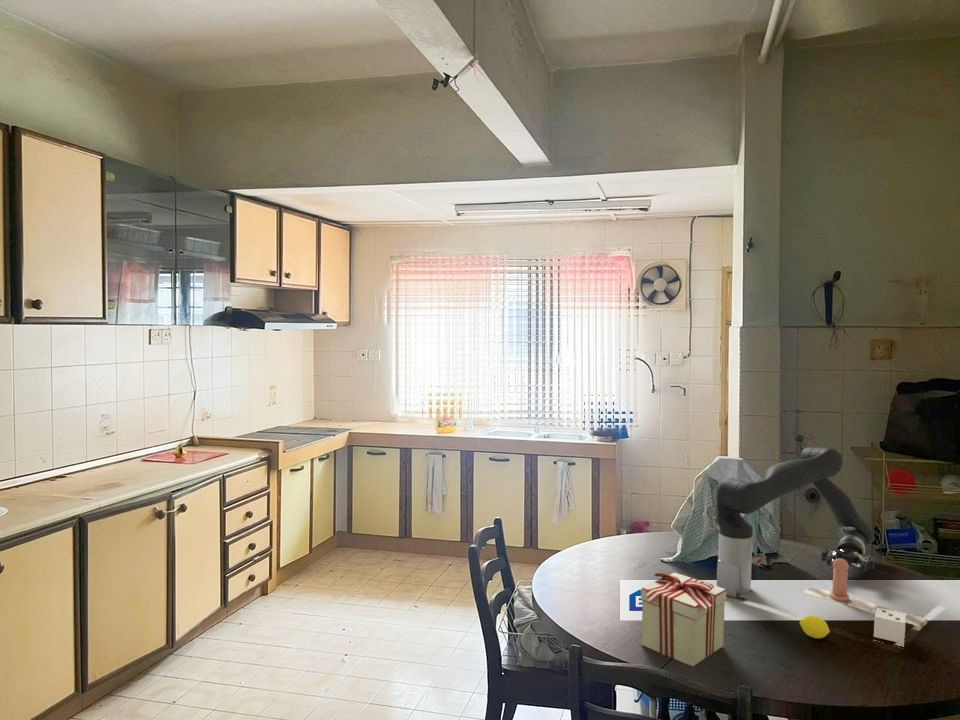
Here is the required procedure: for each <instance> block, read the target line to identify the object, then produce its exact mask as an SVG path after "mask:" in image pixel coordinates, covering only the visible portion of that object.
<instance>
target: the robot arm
mask: <svg viewBox="0 0 960 720" xmlns="http://www.w3.org/2000/svg"><path fill="white" fill-rule="evenodd" d="M843 462H844V460H843V457H842V455H841V453H840V452H839V451H838V450H837V449H835V448H831V447H816V446H815V447H814V446H809V447H805V448H804V449H803V450H801V454H800V457H799V459H791V460H784V461H782V462H779V463H777V464H774V465H772V466H770V467H768V468H767V469H766V470H765V472H764V474H763V476H762V479H761V480H759V481H755V482H751V481H746V480H742V479H738V478H733V477H725V478H723V479H722V480H721V481H720V483H719V485H718V487H717V492H716V521H717V525H718V556H717V558H718V559H717V565H716V586H718V587H721V588H724V589H726V596H727V595H728V596H727V597H731V598H734V599H737V598H740V596H742V595H744V594H748V593H750V592H751V590H752V589H751V585H752V562H753V561H752V560H753V533H754V532H753V531H754V530H753V529H754V528H753V526H752V524H751V523H749V522H748V521H747V520H746V519H744V517H743V516H742V514H744V515H750V514H752V513H756V512H757V511H758V510H760V509H761V508H763V507H765V506H766V505H767V504H769V503H771V502H772V501H775V500H777V499H779V498H781V497H783V496H786V495H788V494H790V493H793V492H795V491H797V490H799V489H801V488H803V487H806V486H809V485H810V484H812V485H813V486H814V487H815V488H816V490H817V491H818V493H819V494H820V495H821V496H822V498H823V499H824V501H825V502H826V504H827V506H828V508H829V510H830V511H831V513H832V515H833V518H834V520H835V521H836V523H837V524H838V525H839V526H841V527H840V528H839V529H838V532H837V536H838V540H839V542H838V545H837V548H836V549H835V550H834V551H833V550H830V548H829V547H824V548H823V550H822V551H821V552H820V553H821V556H820V557H821V558H820V560H821V561H822V562H825V564H826V565H827V566H828V567H832V566H833V562H834V561H835V560H836V559H838V558H842V559H844V560H846V561H847V562H848V565H849V567H854V566H855V567H857V568H859V571H860V572H861V573H864V572H866V571H867V569H868V568H869V570H875V555H873V554H871V555H868V556H865V554H866V546H868V545H871V544H872V543H874V541H875V533H874V530H873V529H872V528H871V526H870V525H869V524H868V523H867V522H866V521H865V520H864V519H863V518H862V516H861V515H859V514H858V511H857V509H856V507H855V506H854V503H853V501H852V500H851V497H849V496H848V495H847V494H846V493H845V492H844V491H843V490H842V489H841V488H839V486H837V485H836V484H835V483H834V482H833V481H832V480H831V479H830V478H832V477H834V476H836V475H838V474H839V472H840V471H841V469H842V468H843V464H844V463H843Z"/></svg>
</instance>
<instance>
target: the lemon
mask: <svg viewBox="0 0 960 720" xmlns="http://www.w3.org/2000/svg"><path fill="white" fill-rule="evenodd" d="M799 626H800V627H801V629H802V631H803V632H804V633H805V634H806V635H807V636H808V637H811V638H812V639H816V640H817V639H823V638H825V637H826V636H827V635H828V634H829V633H830V632H831V631H830V628H829V626H828V624H827V622H826V621H825V620H824V619H823V618H821V617H820V616H816V615H808V616H805V617H804V618H803V619H802V620H800V621H799Z"/></svg>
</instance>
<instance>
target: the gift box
mask: <svg viewBox="0 0 960 720" xmlns="http://www.w3.org/2000/svg"><path fill="white" fill-rule="evenodd" d="M654 576H655V577H661V578H659V579H657V580H656V581H653V582H652V583H650V584H648V585H646V586H644V587H642V588H641V589H640V591H641V592H640V600H641V601H642V609H641V610H642V615H641V621H642V622H641V646H642V647H645V648H647V649H650V650H652V651H654V652H656V653H659V654H660V655H663V656H666V657H668V658H671V659H673V660H675V661H677V662H680V663H682V664H685V665H687V666H689V667H695V666H696V665H698V664H699V663H701V662H702V661H704V660H705V659H707V658H709V657H710V656H711V655H713V654H714V653H715V652H717V651H719V650H720V649H721V648H723V647H724V636H725V635H724V633H725V632H724V627H725V602H727V595H726V589H724V588H721V587H718V586H717V585H715V584H711V583H708V582H705V581H703V580H701V579H696V578H693V577H690V576H687V575H684V574H681V573H677V572H671V573H670V574H669V573H668V574H667V573H660V572H656V573H654Z"/></svg>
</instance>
